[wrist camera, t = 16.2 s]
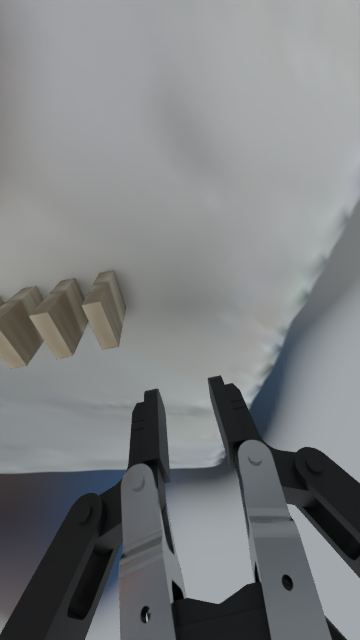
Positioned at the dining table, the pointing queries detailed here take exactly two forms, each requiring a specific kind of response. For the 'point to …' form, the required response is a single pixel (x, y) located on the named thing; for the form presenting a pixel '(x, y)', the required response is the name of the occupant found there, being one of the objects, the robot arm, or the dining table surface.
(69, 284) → the domino
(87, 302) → the domino
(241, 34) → the dining table surface
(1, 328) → the domino
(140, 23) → the dining table surface
